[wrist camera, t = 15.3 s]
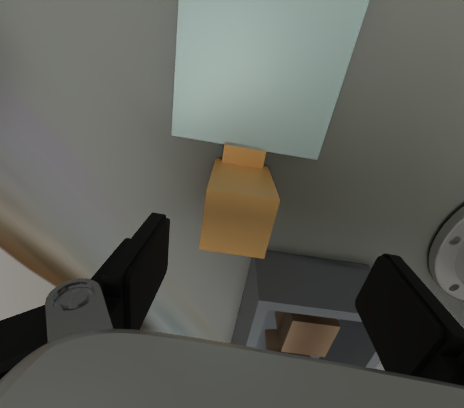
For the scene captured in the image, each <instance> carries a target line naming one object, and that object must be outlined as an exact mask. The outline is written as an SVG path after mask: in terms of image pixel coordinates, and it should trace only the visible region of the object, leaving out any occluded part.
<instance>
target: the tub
mask: <svg viewBox="0 0 464 408" xmlns="http://www.w3.org/2000/svg"><path fill="white" fill-rule="evenodd" d="M370 271H371V268H370V267H369V265H364V264H357V263H350V262H343V261H336V260H329V259H322V258H315V257H308V256H301V255H294V254H287V253H280V252H273V251H266V254H265V258H264V259H261V258H254V257H252V259H251V263H250V267H249V271H248V275H247V279H246V284H245V288H244V292H243V296H242V300H241V304H240V308H239V313H238V317H237V321H236V325H235V329H234V333H233V337H232V341H231V344H236V345H242V346H247V347H253V348H259V349H265V350H266V338H265V330H267V329H277V325H276V319H275V311H281V312H288V313H296V314H304V315H311V316H319V317H327V318H334V319H338V322H339V324H340V326H341V327H340V329H339V331H338V333H337V335H336V337H335V339H334V341H333V343H332V345H331V346H330V348H329V350H328V352H327V354H326V356H325V357H320V356H312V355H310V357H311V358H316V359H322V360H328V361H333V362H339V363H344V364H350V365H356V366H361V367H367V368H372V369H375V367H376V366H377V364H378V363H379V362H380V359H379V357H378V355H377V352H376V350H375V348H374V346H373V344H372V342H371V340H370V338H369V335H368V333H367V331H366V329H365V327H364V325H363V323H362V321H361V318H360V316H359V314H358V312H357V310H356V307H355V300H356V298H357V296H358V294H359V292H360V290H361V288H362V286H363V284H364V282H365V280H366V278H367V276H368V274H369V273H370Z"/></svg>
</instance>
